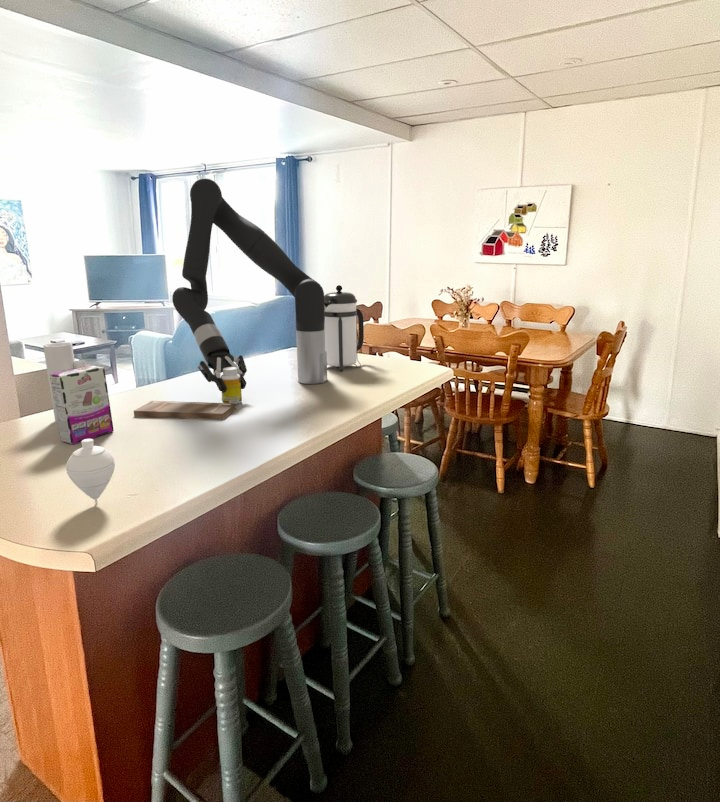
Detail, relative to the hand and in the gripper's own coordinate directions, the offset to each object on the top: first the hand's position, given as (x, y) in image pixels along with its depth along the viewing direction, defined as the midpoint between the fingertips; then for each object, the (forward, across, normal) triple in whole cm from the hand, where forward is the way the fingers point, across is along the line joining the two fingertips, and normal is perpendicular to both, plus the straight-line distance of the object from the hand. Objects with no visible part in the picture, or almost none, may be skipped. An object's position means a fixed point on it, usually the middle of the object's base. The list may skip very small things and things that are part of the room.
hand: (234, 389), depth 162 cm
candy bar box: (+4, -41, +3) cm, 41 cm away
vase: (-7, -39, +14) cm, 42 cm away
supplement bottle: (+2, 0, +5) cm, 5 cm away
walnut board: (+2, -14, +4) cm, 15 cm away
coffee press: (-10, +55, +16) cm, 59 cm away
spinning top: (+32, -51, -26) cm, 66 cm away
